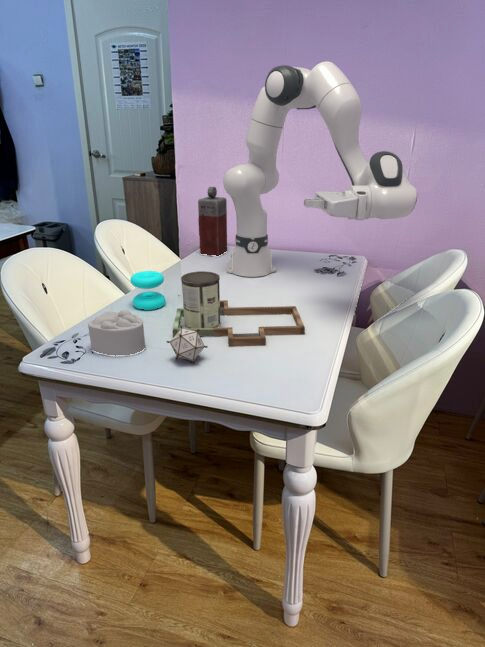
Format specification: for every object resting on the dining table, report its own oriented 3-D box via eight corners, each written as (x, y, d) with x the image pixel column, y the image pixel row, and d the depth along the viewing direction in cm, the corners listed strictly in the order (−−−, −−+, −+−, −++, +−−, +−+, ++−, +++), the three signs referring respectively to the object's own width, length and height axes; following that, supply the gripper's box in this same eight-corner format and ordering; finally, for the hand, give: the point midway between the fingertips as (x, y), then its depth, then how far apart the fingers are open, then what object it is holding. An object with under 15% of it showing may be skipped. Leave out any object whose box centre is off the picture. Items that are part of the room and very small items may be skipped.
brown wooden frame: (179, 307, 138) (178, 301, 138) (292, 305, 140) (292, 299, 139) (170, 347, 113) (170, 340, 113) (308, 344, 115) (309, 337, 114)
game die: (182, 370, 110) (169, 332, 112) (214, 358, 110) (200, 320, 111) (172, 370, 101) (158, 329, 103) (207, 357, 101) (192, 315, 102)
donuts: (153, 281, 130) (123, 277, 133) (155, 313, 134) (126, 309, 137) (169, 271, 139) (141, 268, 142) (171, 301, 143) (143, 298, 146)
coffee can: (196, 315, 133) (193, 269, 127) (227, 321, 129) (226, 274, 123) (176, 328, 124) (173, 279, 118) (209, 335, 120) (207, 285, 114)
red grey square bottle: (205, 249, 203) (202, 184, 191) (227, 252, 198) (226, 186, 187) (195, 254, 195) (192, 187, 184) (218, 257, 191) (216, 188, 180)
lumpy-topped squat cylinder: (110, 335, 120) (106, 305, 117) (154, 342, 116) (151, 311, 113) (86, 352, 111) (81, 320, 108) (132, 360, 107) (128, 327, 104)
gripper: (346, 185, 130) (298, 186, 129) (368, 195, 111) (312, 196, 111) (344, 208, 133) (297, 208, 132) (365, 221, 114) (311, 222, 113)
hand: (304, 203), depth 121 cm, fingers closed
